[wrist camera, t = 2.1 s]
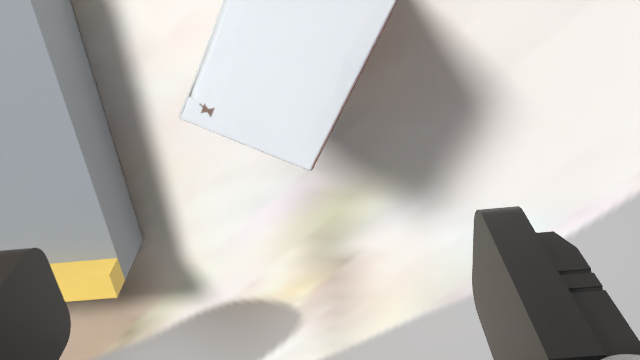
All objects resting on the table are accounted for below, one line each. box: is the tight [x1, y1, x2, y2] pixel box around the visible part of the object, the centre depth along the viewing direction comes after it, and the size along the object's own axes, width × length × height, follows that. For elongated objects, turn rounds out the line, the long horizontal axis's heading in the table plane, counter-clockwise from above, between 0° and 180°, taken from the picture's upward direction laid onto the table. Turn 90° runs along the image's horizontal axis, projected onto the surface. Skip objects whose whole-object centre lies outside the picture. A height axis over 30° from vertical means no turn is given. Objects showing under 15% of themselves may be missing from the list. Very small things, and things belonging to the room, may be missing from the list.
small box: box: [179, 0, 398, 170], centre depth 25 cm, size 8×6×10 cm
